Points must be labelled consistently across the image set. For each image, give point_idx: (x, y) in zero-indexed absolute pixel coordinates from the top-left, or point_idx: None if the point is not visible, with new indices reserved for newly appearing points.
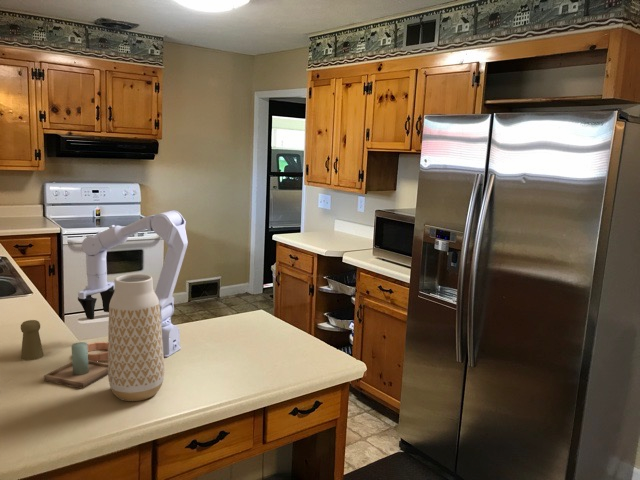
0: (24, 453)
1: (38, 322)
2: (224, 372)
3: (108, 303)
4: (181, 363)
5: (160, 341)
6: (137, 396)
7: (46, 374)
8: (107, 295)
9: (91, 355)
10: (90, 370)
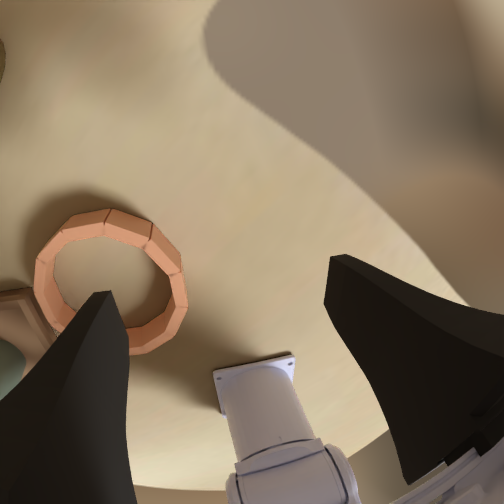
0: None
1: None
2: (218, 468)
3: (368, 355)
4: (212, 437)
5: None
6: None
7: None
8: (418, 415)
9: (57, 328)
10: (30, 365)
